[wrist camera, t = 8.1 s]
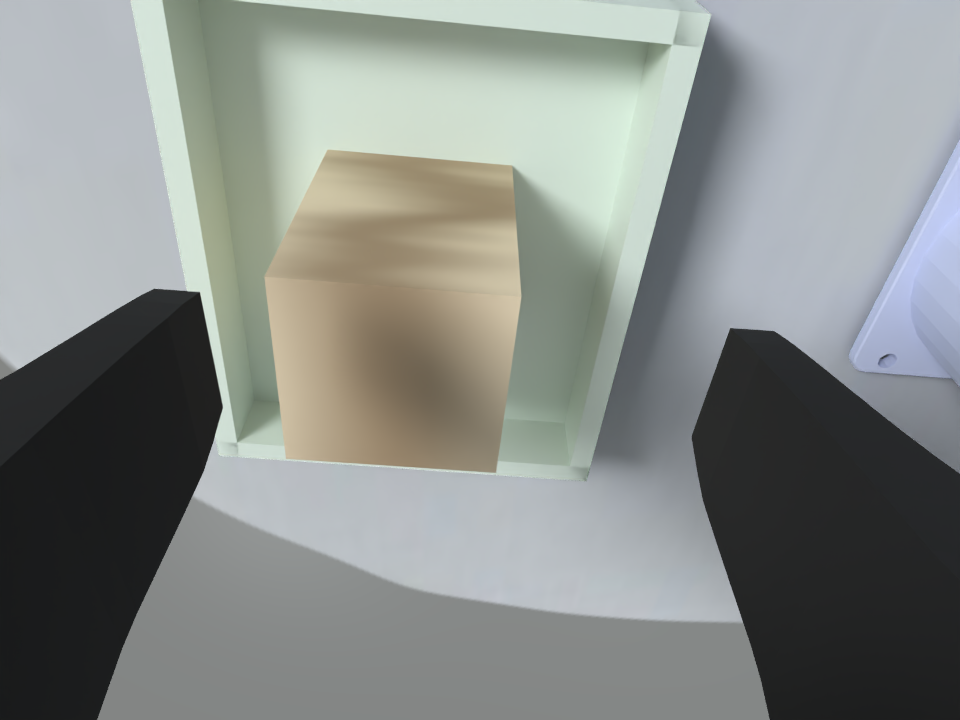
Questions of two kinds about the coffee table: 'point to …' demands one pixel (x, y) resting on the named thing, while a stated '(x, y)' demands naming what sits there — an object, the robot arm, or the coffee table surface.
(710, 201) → the coffee table surface
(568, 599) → the coffee table surface
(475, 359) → the maple block
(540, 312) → the serving tray
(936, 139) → the coffee table surface
